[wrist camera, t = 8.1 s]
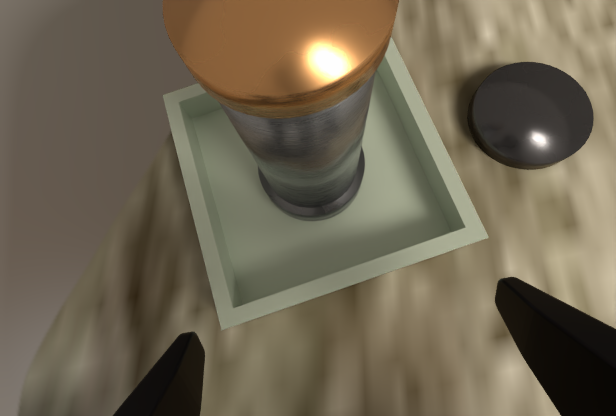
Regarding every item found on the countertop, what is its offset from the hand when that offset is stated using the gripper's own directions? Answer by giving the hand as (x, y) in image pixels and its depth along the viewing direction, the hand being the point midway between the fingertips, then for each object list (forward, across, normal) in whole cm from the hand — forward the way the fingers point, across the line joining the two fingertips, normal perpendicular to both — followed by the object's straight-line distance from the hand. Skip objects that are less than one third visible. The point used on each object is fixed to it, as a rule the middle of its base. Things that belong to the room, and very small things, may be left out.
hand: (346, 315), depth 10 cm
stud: (+12, -13, 0) cm, 18 cm away
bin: (+12, 0, +1) cm, 12 cm away
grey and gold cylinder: (+11, 0, 0) cm, 11 cm away
